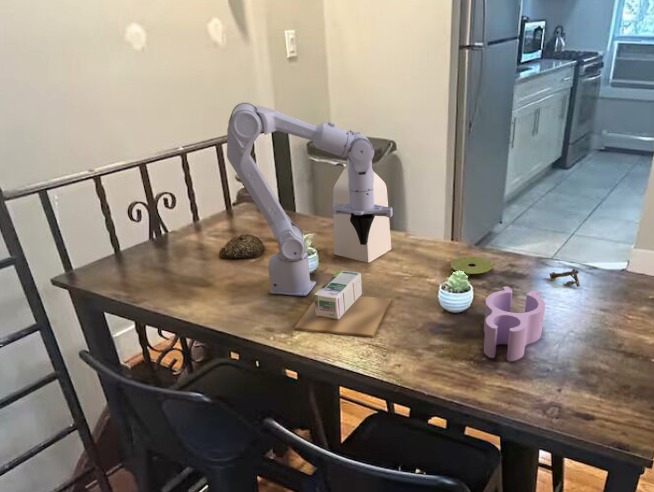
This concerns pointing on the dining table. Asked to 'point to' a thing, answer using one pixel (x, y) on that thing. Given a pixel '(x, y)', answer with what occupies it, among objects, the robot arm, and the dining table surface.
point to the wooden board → (348, 318)
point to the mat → (472, 265)
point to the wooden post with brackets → (573, 272)
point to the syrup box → (338, 294)
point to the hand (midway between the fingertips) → (364, 243)
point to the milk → (345, 231)
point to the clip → (512, 323)
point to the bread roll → (242, 247)
